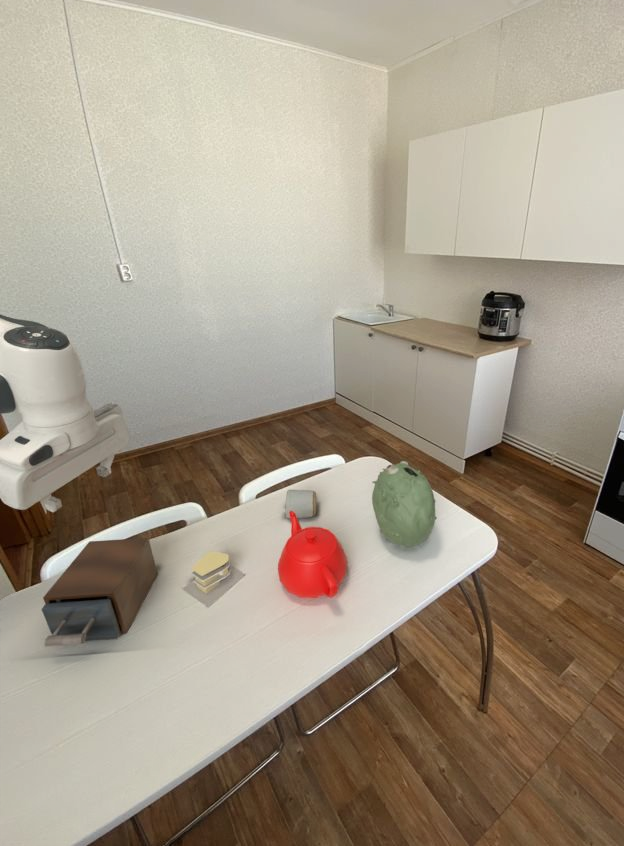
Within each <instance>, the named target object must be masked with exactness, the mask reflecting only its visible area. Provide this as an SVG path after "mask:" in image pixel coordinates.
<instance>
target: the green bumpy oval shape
mask: <svg viewBox="0 0 624 846" xmlns="http://www.w3.org/2000/svg"><path fill="white" fill-rule="evenodd" d="M371 483H372V484H374V487H373V490H372V496H371V500H372V501H371V502H372V508H373V511H374V516H375V519H376V523H377V525H378V528H379V531H380V533H381V534H382V535H383V536H384V538H385V539H386V540H388V541H389V542H390V543H391V544H394V545H397V546H401V547H405V548H410V547H415V546H417V545H419V544H421V543H423V542H424V541H426V540H427V539H428V538H429V537H430V535H431V534H432V531H433V528H434V527H435V524H436V520H437V516H436V501H437V500H436V499H435V495H434V492H433V489H432V486H431V484H430V482H429V481H428V477H426V475H424V474H422V473H421V470H420V469H419V470H417V469H415V468H413V467H412V466H410V465H409V463H408V461H406V460H401V461H400V462H398V463H396V464H394V463H392V464H389V465H388V466H386V467H385V468H382V471H380V472H379V474H378V475H377V478H376V480H372V481H371Z"/></svg>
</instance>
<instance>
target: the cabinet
mask: <svg viewBox="0 0 624 846" xmlns="http://www.w3.org/2000/svg"><path fill="white" fill-rule="evenodd" d="M158 575H159V573H158V569H157V566H156V562H155V558H154V553H153V550H152V546H151V541H150V538H149V537H139V538H120V539H108V540H107V539H105V540H93V541H92V540H91V541H88V542H87V544H86V545H85V546H84V547H83V548H82V549H81V551H80V552H79V553H78V555H77V556H76V557H75V558H74V559H73V561H71V563H70V564H69V566H68V567H67V568H66V569H65V571H64V572H62V574H61V575H60V577H59V578H58V579H57V580H56V581H55V582H54V584H52V586H51V587H50V588H49V589H48V591H47V592H46V593H45V595H44V596H43V597H42V598H43V601H44V605H45V604H48V603H57V602H56V600H60V599H74V598H88V597H101V596H111V598H112V602H113V605H114V608H115V611H116V614H117V617H118V621H119V624H120V626H119V628H120V631H121V634H120V635H123V634H128V632H129V631H130V628H131V626H132V624H133V622H134V621H135V619H136V617H137V615H138V613H139V611H140V609H141V607H142V606H143V604H144V602H145V600H146V598H147V596H148V594H149V593H150V590H151V589H152V586H153V584H154V582H155V581H156V580H157V577H158Z"/></svg>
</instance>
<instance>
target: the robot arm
mask: <svg viewBox="0 0 624 846" xmlns="http://www.w3.org/2000/svg"><path fill="white" fill-rule="evenodd" d="M79 354H80V353H79V352H78V349H77V347H76V345H75V344H74V343H73V341H72V340H71V339H70V337H69V336H68V335H67V334H66V333H64V332H63V331H61V330H58V329H56V328H52V327H49V326H46V325H45V324H42V323H40V322H37V321H33V320H28V319H26V320H25V319H21V318H20V319H19V318H14V317H10V316H6V315H3V314H0V415H1V414H10V413H14V412H16V413H19V414H20V416H21V420H22V421H21V422H19V424H17V425H16V426H15V427H14V428H13V429H12V430H11V431H10V432H8V433H7V434H6V435H4V437H2V438H1V439H0V500H1V502H2V503H3V504H4V505H7V506H8V507H10V508H12V509H16V510H21V511H25V510H27V509H29V508H31V507H32V506H33V505H35V504H37V503H39V502H41V503H43V504H44V506H45V509H46V510H47V511H48V512H51V513H56V512H57V511H58V510H60V509H61V508H62V507H63V504H62V500H61V499H60V498H56V496H52V494H53V493H54V492H56V491H57V490H59V489H60V488H62V487H63V486H65V485H67V484H68V483H69V482H71V481H73V480H74V479H76V478H78V477H79V476H81V475H82V474H84V473H85V472H87V471H89V470H90V469H92V468H93V467H95V466H96V465H98V464H99V466H97V467H96V468H95V470H96V472H97V476H99V477H102V478H103V479H104V478H106V477H107V476H109V475H111V474H112V468H111V466H112V464H113V461H114V458H115V453H117V452H118V451H120V450H122V449H123V448H125V447H126V446H127V445H128V444H129V442H130V440H131V435H130V432H129V427H128V425H127V423H126V421H125V419H124V418H123V411H122V410H123V409H122V406H121V405H120V404H119V403H112V402H109V403H106V404H105V405H103V406H101V407H99V408H96V409H94V408H93V403H92V400H91V399H90V398H89V397H88V395H87V385H88V382H87V377H86V374H85V370H84V366H83V363H82V360H81V357H80V355H79Z"/></svg>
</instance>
